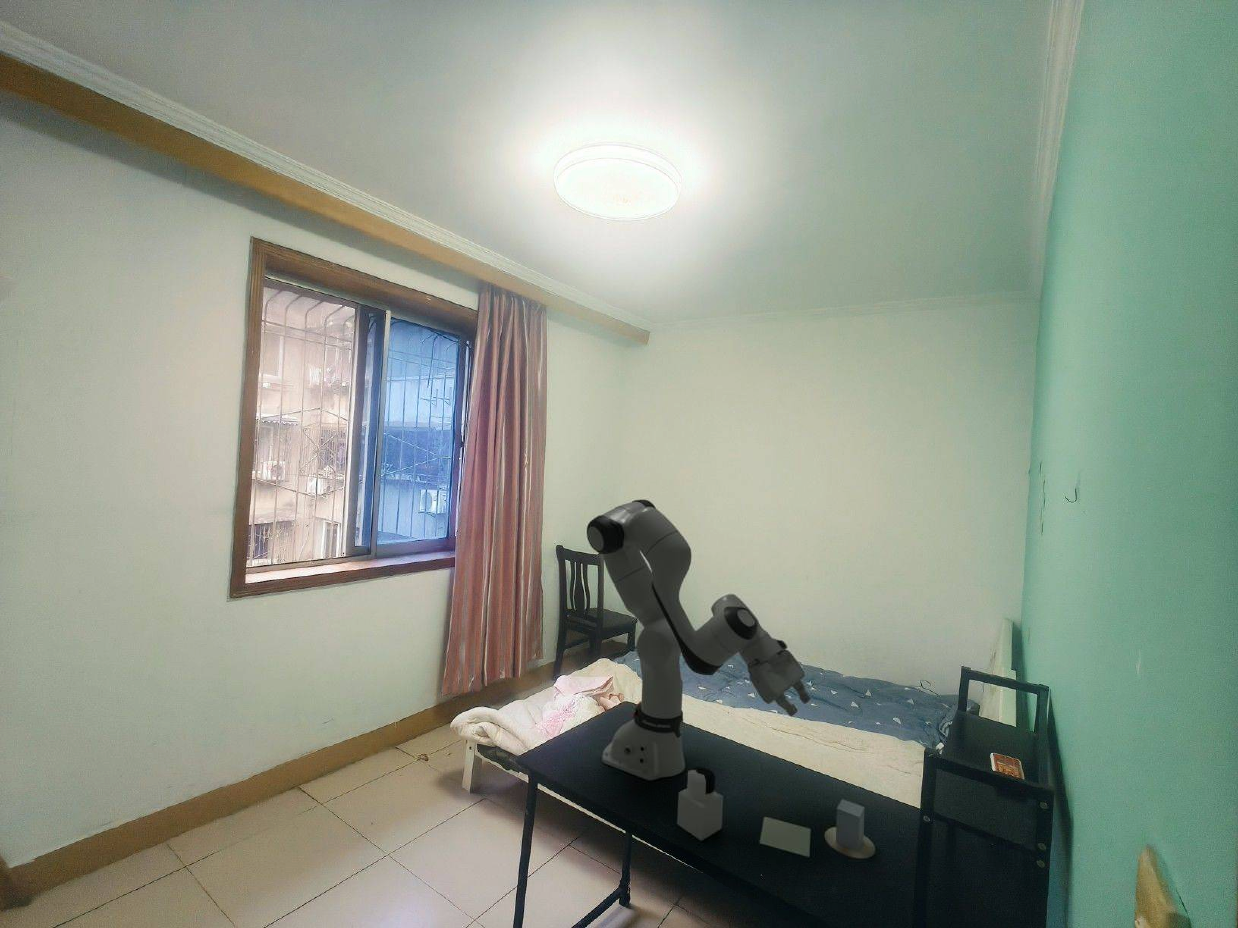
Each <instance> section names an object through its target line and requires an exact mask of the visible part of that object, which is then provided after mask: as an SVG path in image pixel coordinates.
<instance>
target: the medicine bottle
mask: <svg viewBox="0 0 1238 928" xmlns="http://www.w3.org/2000/svg"><path fill="white" fill-rule="evenodd" d="M686 785H687V788H685V789H683V790H680V791H679V792H678V795H677V796H678V799H677V801H678V802H677V818H676V819H677V820H676V821H677V823H676V824H677V825H678V827H680V828H682V829H683V830H685V831H686V832H687V833H689V834H690V833H691V835H692V836H693V837H695V838H696V839H697V840H699V841H703V840H705V839H707V838H709V837H710V836H711V835H714V834H715V833H717V832H719V831H720V830H721V829H722V828H723V827H722V826H723V803H724V801H723V799H724V796H722V794H719V793H718V792H716V791H715V790H716V775H715V773H714V771H712V770H711V769H709V768H706V767H702V766H695V767H692V768H690V769H689V770H688V772H687V784H686Z"/></svg>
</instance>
